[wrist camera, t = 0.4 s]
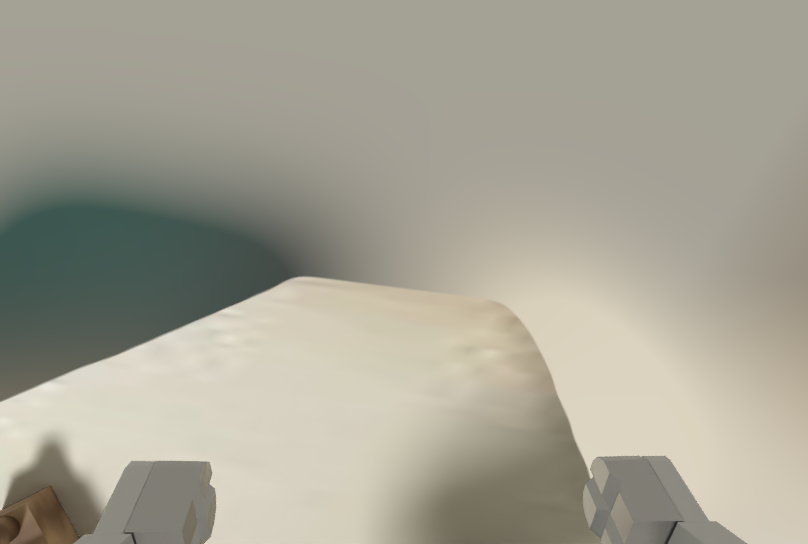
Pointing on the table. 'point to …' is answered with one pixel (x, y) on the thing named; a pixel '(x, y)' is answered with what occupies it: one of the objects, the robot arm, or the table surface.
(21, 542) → the plane body
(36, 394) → the table surface
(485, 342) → the table surface
